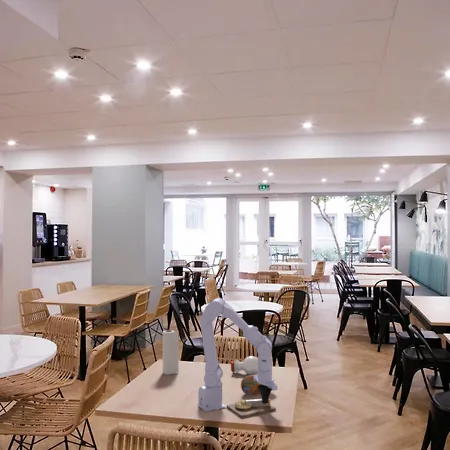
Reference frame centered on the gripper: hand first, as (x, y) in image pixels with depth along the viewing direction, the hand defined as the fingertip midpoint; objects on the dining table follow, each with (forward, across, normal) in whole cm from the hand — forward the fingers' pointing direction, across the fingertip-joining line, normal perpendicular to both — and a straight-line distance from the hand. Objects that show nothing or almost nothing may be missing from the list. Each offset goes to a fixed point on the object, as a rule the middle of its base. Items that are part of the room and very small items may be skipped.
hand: (265, 403), depth 190 cm
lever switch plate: (+2, +3, +5) cm, 6 cm away
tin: (+3, +17, -7) cm, 19 cm away
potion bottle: (+3, +43, -17) cm, 46 cm away
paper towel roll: (+2, +63, +16) cm, 65 cm away
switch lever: (+1, +3, +4) cm, 5 cm away
